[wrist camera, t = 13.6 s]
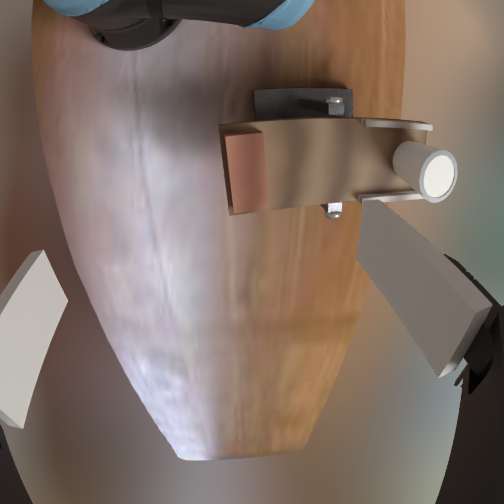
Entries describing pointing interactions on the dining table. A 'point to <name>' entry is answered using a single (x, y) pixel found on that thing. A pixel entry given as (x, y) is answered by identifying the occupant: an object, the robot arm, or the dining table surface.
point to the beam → (314, 161)
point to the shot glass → (426, 169)
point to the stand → (304, 112)
